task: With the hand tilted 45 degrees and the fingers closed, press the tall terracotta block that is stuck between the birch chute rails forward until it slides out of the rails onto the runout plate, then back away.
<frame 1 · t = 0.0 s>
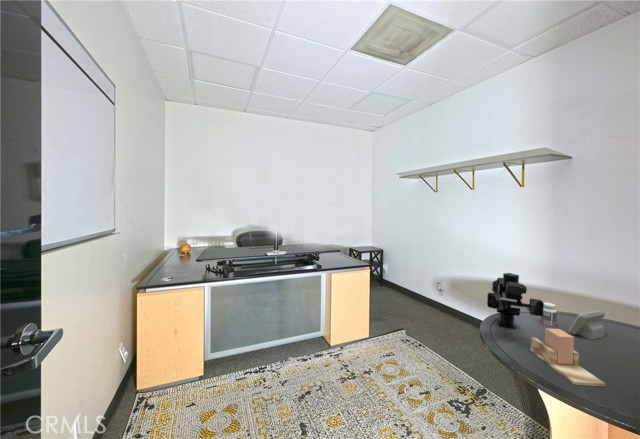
hand: (517, 310, 98), 17 cm above the table, tool horizontal, fingers open, 9 cm apart
jammed block: (558, 345, 92), point 6 cm above the table, slide at 0.0 cm
pill bottle: (548, 324, 122), on the table
digital clock: (585, 334, 113), on the table
chute: (557, 362, 92), on the table
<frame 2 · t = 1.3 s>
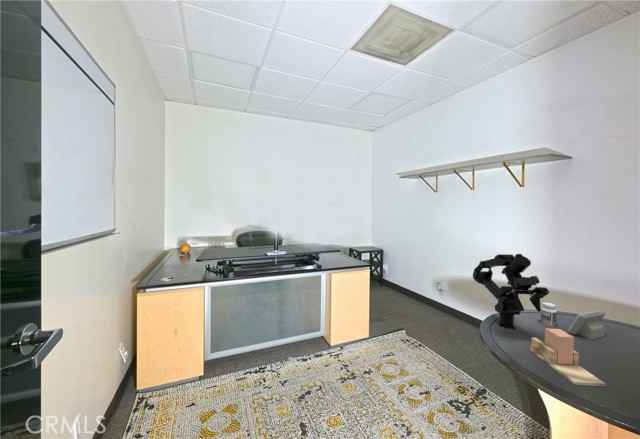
hand: (531, 311, 105), 14 cm above the table, tool tilted 45°, fingers open, 6 cm apart
nothing on the table moved.
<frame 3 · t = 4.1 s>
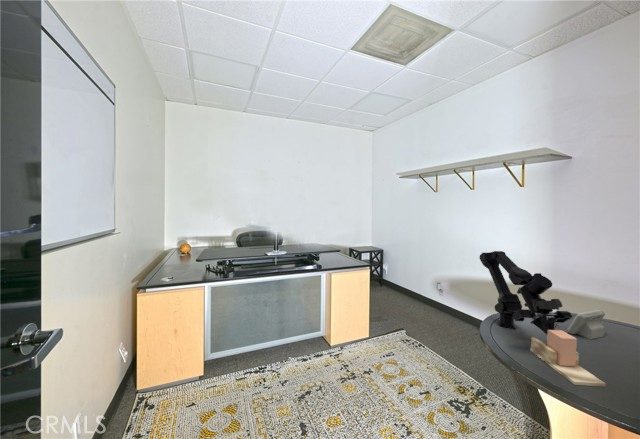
hand: (553, 338, 94), 8 cm above the table, tool tilted 45°, fingers closed, pressing on jammed block
jammed block: (561, 347, 91), point 6 cm above the table, slide at 1.0 cm, touching gripper
everything else where it was.
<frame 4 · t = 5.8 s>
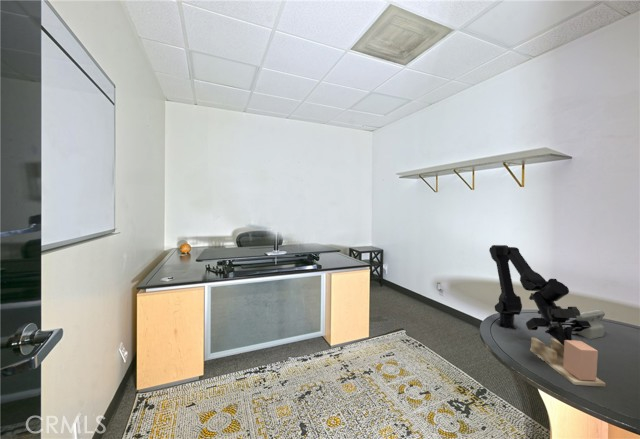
hand: (571, 349, 87), 8 cm above the table, tool tilted 45°, fingers closed, pressing on jammed block
jammed block: (579, 359, 84), point 6 cm above the table, slide at 8.3 cm, touching gripper
everything else where it was.
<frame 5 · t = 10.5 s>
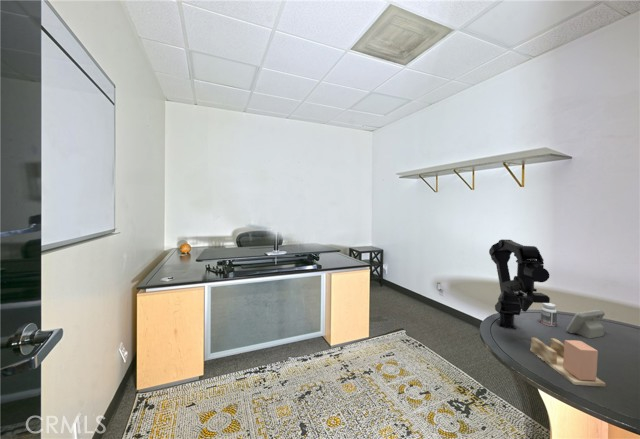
hand: (524, 311, 106), 13 cm above the table, tool pointing down, fingers closed
jammed block: (579, 359, 84), point 6 cm above the table, slide at 8.3 cm
everything else where it was.
at the end: jammed block slide at 8.3 cm; digital clock moved 1.0 cm from its start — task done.
